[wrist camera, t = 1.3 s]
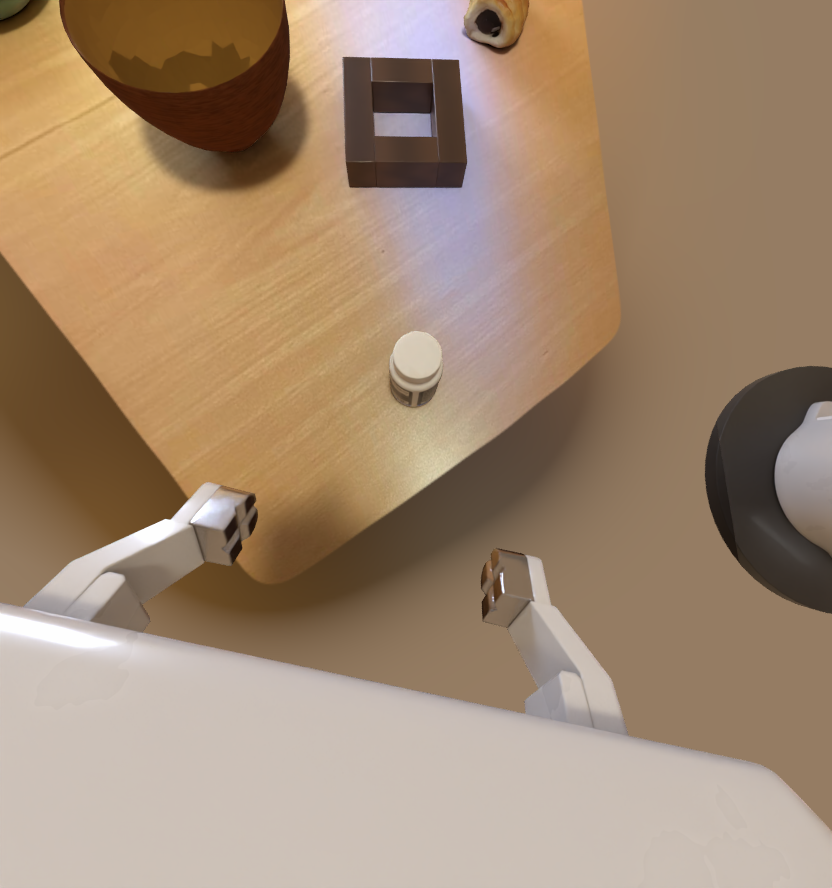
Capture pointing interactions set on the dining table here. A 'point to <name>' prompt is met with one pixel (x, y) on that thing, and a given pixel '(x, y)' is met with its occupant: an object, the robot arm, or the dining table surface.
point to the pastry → (496, 21)
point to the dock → (403, 91)
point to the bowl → (189, 63)
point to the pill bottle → (415, 368)
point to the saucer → (11, 7)
